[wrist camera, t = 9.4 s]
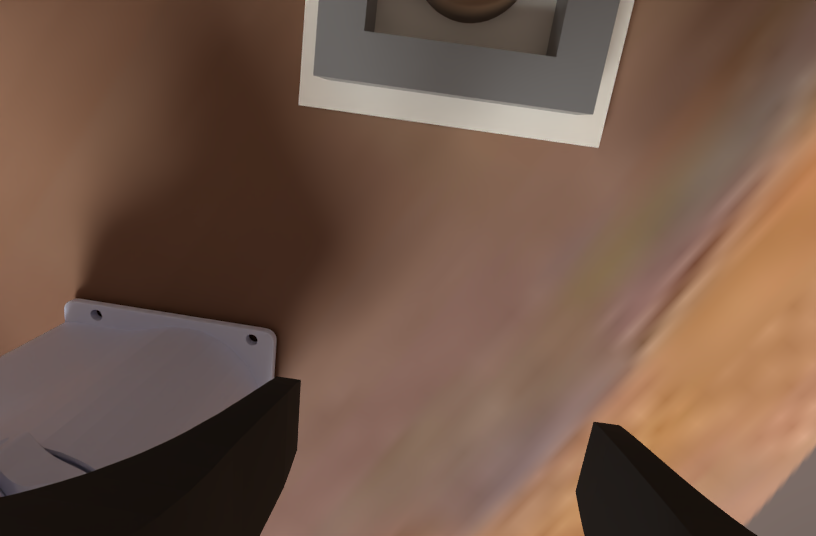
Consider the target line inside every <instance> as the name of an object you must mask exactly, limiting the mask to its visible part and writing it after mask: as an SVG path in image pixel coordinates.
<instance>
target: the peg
mask: <svg viewBox="0 0 816 536" xmlns="http://www.w3.org/2000/svg"><path fill="white" fill-rule="evenodd" d="M426 1H427V2H428V3H429V4H430V5H431V7H433V8H434V9H435V10H436V11H437V12H438V13H440V14H441V15H443V16H444V17H446V18H448V19H450V20H453V21H457V22H461V23H480V22H484V21H488V20H490V19H493V18H495V17H497V16H499V15H500V14H502V13H504V12H505V11H506V10H508V9H509V8H510V7H511V6H512V5H513V4H514V3H515V2H516V1H517V0H426Z"/></svg>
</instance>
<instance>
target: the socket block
mask: <svg viewBox="0 0 816 536" xmlns="http://www.w3.org/2000/svg"><path fill="white" fill-rule="evenodd" d="M634 1H635V0H517V1H516V2H515V3H514V4H513V5H512V6H511V7H510V8H509V9H508V10H506V11H505V12H504V13H502V14H500V15H499V16H497V17H495V18H493V19H490V20H488V21H484V22H480V23H461V22H457V21H453V20H450V19H448V18H446V17H444V16H443V15H441V14H440V13H438V12H437V11H436V10H435V9H434V8H433V7H431V5H430V4H429V3H428V2H427V1H426V0H305V14H304V29H303V44H302V59H301V74H300V89H299V105H302V106H309V107H316V108H323V109H330V110H337V111H344V112H351V113H358V114H365V115H372V116H379V117H386V118H393V119H400V120H407V121H414V122H421V123H428V124H435V125H442V126H449V127H456V128H463V129H470V130H477V131H484V132H491V133H498V134H505V135H512V136H519V137H526V138H533V139H540V140H547V141H554V142H561V143H568V144H575V145H582V146H589V147H596V148H599V144H600V140H601V136H602V132H603V128H604V124H605V119H606V115H607V111H608V107H609V103H610V99H611V95H612V91H613V87H614V83H615V78H616V74H617V70H618V66H619V62H620V58H621V54H622V50H623V46H624V42H625V37H626V33H627V29H628V25H629V21H630V17H631V13H632V9H633V5H634Z"/></svg>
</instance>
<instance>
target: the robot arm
mask: <svg viewBox="0 0 816 536" xmlns="http://www.w3.org/2000/svg"><path fill="white" fill-rule="evenodd" d="M97 310H98V311H100V312H101V314H102V317H101V316H99V315H98V314H97ZM64 313H65V323H63V324H61V325H59V326H57V327H55V328H53V329H51V330H50V331H48V332H46V333H44V334H42V335H40V336H38V337H36V338H34V339H33V340H31V341H29V342H27V343H25V344H23V345H21V346H19V347H18V348H16V349H14V350H12V351H10V352H8V353H6V354H4V355H2V356H1V357H0V536H260V534H261V532H262V530H263V528H264V526H265V524H266V522H267V520H268V518H269V516H270V514H271V512H272V510H273V508H274V506H275V504H276V502H277V500H278V498H279V496H280V494H281V492H282V490H283V488H284V485H285V482H286V480H287V477H288V474H289V472H290V469H291V466H292V463H293V460H294V457H295V454H296V451H297V441H298V422H299V403H300V384H301V380H297V379H290V378H283V377H275V378H274V375H275V359H276V343H277V339H276V335H275V333H274V332H273V331H272V330H270V329H267V328H262V327H256V326H250V325H243V324H237V323H231V322H225V321H218V320H212V319H206V318H199V317H193V316H187V315H180V314H174V313H168V312H162V311H155V310H149V309H143V308H136V307H130V306H124V305H117V304H111V303H105V302H99V301H92V300H86V299H80V298H77V299H73V300H71V301H69V302H67V303H66V305H65V308H64ZM251 334H252V335H254V336H256V338H257V342H254V341H252V340H251V339H250V337H249V335H251ZM576 496H577V501H578V507H579V512H580V517H581V522H582V526H583V531H584V535H585V536H757V535H755V534H754V533H753V532H751V531H749V530H748V529H747V528H745V527H744V526H743V525H741V524H740V523H739V522H737V521H736V520H734V519H733V518H732V517H730V516H729V515H728V514H727V513H725V512H724V511H723V510H721V509H720V508H719V507H718V506H716V505H715V504H714V503H712V502H711V501H710V500H708V499H707V498H706V497H705V496H703V495H702V494H701V493H700V492H698V491H697V490H696V489H695V488H694V487H692V486H691V485H690V484H689V483H688V482H686V481H685V480H684V479H683V478H682V477H680V476H679V475H678V474H677V473H676V472H674V471H673V470H672V469H671V468H670V467H669V466H667V465H666V464H665V463H664V462H663V461H662V460H660V459H659V458H658V457H657V456H656V455H655V454H654V453H652V452H651V451H650V450H649V449H648V448H647V447H645V446H644V445H643V444H642V443H641V442H640V441H638V440H637V439H636V438H635V437H634V436H632V435H631V434H630V433H629V432H628V431H626V430H625V429H624V428H622V427H621V426H619V425H613V424H606V423H599V422H593V426H592V430H591V434H590V438H589V442H588V446H587V449H586V453H585V457H584V461H583V465H582V469H581V473H580V476H579V480H578V484H577V488H576Z"/></svg>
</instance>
